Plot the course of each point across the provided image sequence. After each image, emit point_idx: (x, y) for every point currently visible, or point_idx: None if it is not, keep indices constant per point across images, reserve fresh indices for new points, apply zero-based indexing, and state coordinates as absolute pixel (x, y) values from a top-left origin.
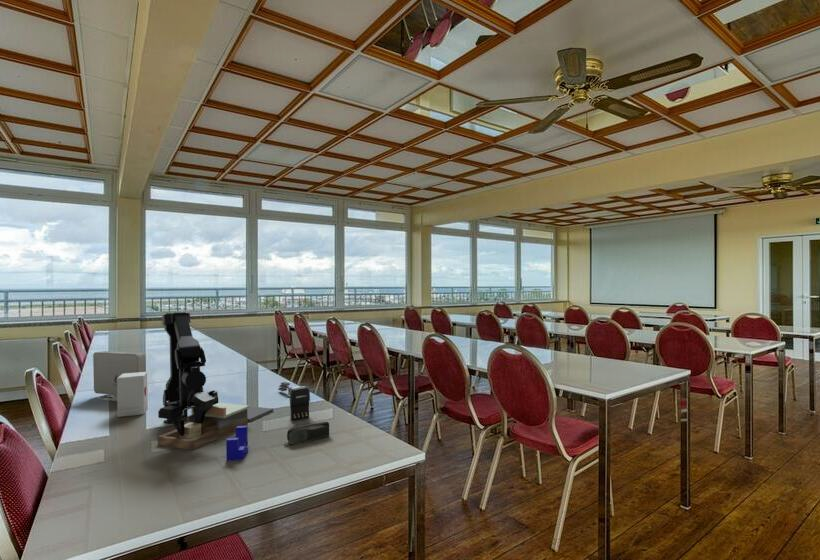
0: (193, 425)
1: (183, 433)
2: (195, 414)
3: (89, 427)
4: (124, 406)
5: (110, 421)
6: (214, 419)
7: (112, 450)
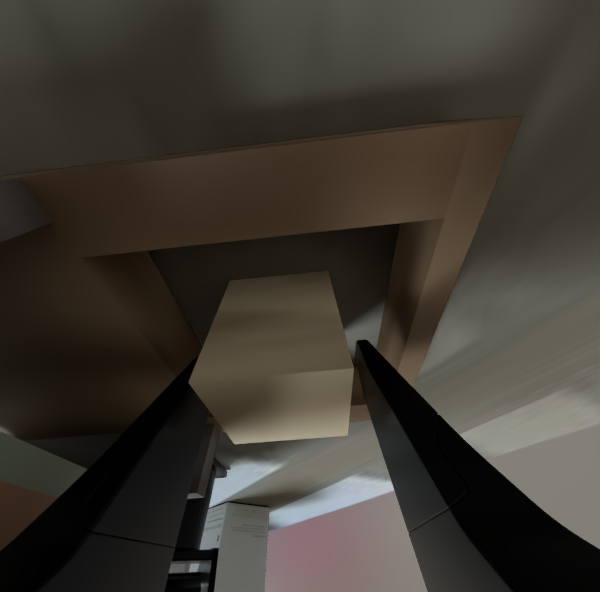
0: (276, 392)
1: (371, 353)
2: (168, 525)
3: (330, 500)
4: (257, 538)
5: (290, 502)
6: (42, 409)
7: (457, 425)
